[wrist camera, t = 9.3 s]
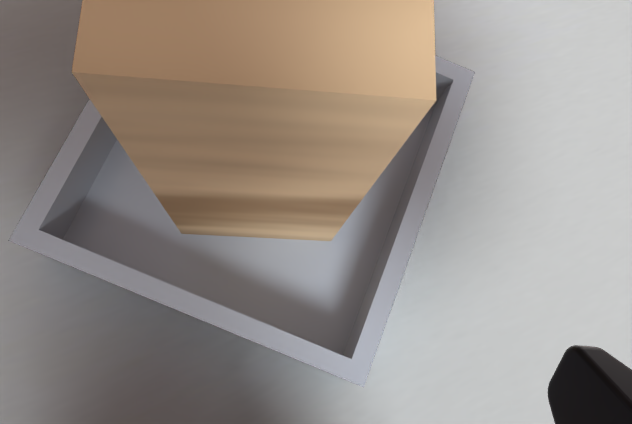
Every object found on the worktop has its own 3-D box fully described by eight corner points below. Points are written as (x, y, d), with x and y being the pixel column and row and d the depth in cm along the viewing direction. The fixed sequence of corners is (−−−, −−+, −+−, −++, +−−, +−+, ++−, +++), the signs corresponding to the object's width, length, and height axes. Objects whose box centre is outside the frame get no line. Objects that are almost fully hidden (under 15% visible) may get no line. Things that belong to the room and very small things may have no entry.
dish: (348, 381, 18) (363, 387, 15) (41, 254, 18) (8, 240, 15) (449, 103, 21) (475, 72, 18) (185, -8, 21) (176, -54, 18)
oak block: (330, 241, 18) (436, 100, 8) (181, 233, 18) (71, 72, 7) (333, 105, 19) (428, -180, 9) (194, 95, 19) (116, -221, 8)
